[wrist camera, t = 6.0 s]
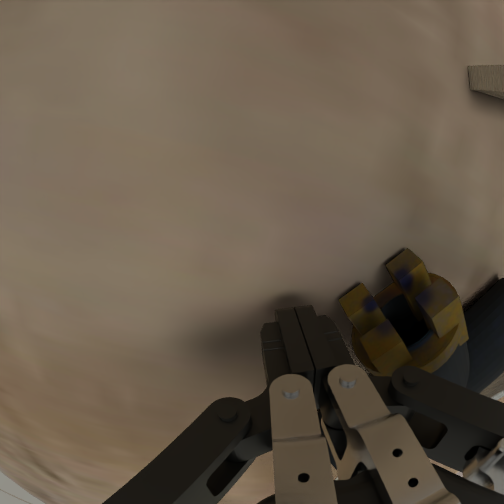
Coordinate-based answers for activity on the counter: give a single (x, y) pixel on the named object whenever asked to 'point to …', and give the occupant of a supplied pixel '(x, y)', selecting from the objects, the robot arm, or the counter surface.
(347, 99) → the counter surface
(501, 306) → the pipe connector
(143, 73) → the counter surface
